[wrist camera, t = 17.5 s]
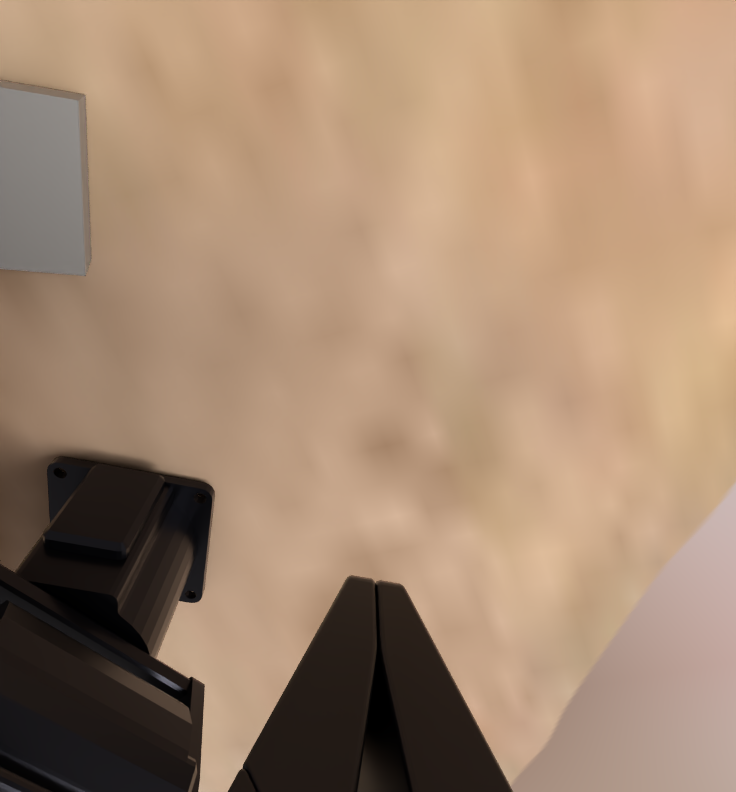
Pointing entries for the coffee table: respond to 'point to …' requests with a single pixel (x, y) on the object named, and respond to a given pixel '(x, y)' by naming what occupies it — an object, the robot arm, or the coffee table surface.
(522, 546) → the coffee table surface
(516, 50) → the coffee table surface
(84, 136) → the domino
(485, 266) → the coffee table surface
